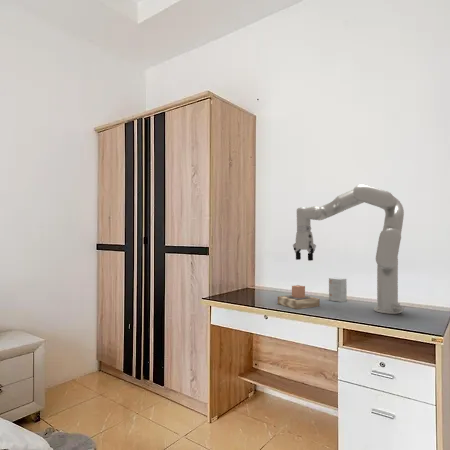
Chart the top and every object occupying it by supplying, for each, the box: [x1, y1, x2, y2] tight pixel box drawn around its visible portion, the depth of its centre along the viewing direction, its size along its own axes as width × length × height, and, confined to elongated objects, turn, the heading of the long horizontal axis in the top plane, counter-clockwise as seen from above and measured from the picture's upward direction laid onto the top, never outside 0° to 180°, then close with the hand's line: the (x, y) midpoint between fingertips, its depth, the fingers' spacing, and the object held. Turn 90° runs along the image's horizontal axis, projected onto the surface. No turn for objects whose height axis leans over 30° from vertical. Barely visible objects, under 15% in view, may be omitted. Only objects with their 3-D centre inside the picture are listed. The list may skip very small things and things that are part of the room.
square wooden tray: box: [277, 294, 321, 310], centre depth 198 cm, size 16×16×4 cm
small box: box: [328, 277, 348, 303], centre depth 212 cm, size 8×6×13 cm
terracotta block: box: [291, 284, 306, 298], centre depth 198 cm, size 5×5×6 cm
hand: (304, 260), depth 203 cm, fingers open, 9 cm apart
